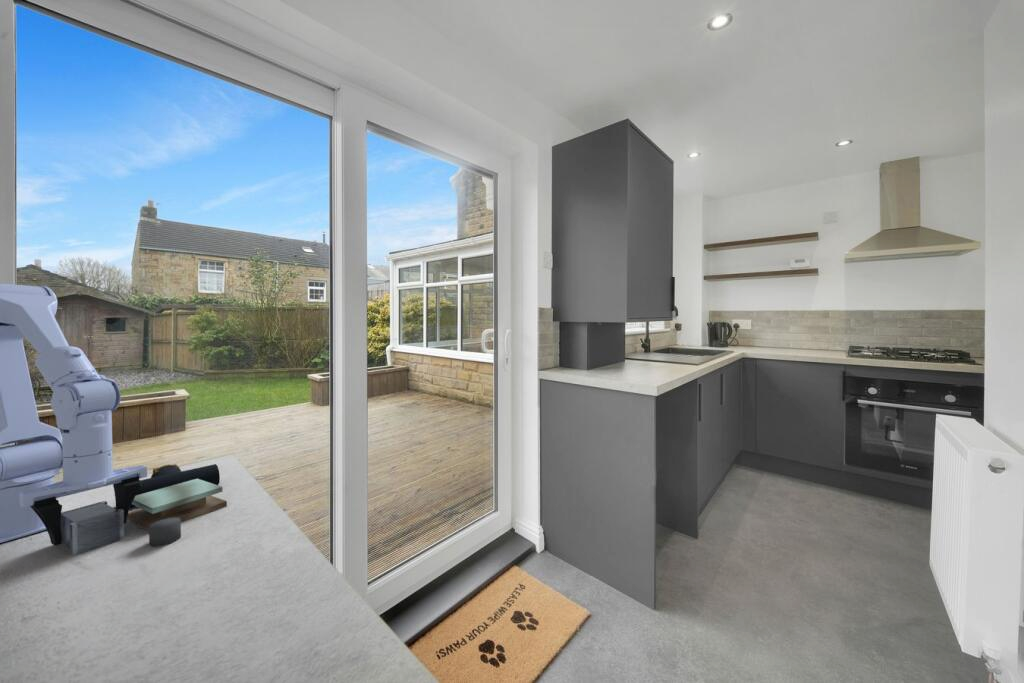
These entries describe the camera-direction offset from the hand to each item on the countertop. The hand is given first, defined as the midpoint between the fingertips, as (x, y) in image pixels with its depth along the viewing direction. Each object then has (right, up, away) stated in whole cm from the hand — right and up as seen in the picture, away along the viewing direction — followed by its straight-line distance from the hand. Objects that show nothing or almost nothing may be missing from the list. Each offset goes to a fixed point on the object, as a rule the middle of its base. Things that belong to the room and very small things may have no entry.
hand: (90, 532), depth 66 cm
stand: (+6, -1, +11) cm, 12 cm away
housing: (0, -2, 0) cm, 2 cm away
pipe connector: (-5, -2, +21) cm, 22 cm away
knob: (+13, -1, 0) cm, 13 cm away
